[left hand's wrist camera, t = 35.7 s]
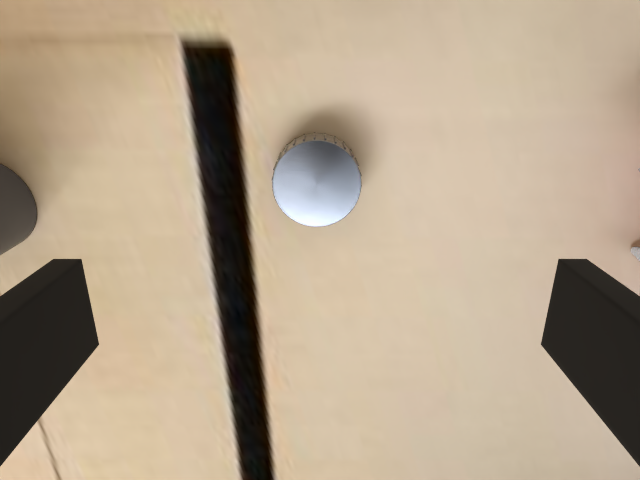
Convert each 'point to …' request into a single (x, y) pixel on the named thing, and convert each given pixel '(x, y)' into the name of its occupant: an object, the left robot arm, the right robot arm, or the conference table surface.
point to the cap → (316, 180)
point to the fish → (636, 248)
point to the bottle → (15, 210)
